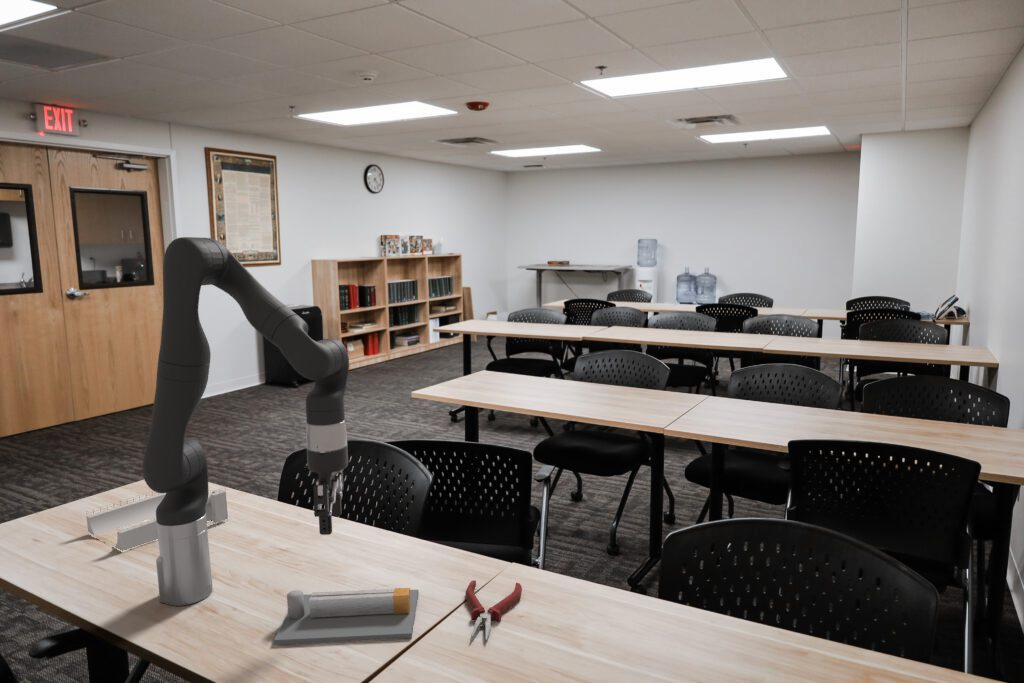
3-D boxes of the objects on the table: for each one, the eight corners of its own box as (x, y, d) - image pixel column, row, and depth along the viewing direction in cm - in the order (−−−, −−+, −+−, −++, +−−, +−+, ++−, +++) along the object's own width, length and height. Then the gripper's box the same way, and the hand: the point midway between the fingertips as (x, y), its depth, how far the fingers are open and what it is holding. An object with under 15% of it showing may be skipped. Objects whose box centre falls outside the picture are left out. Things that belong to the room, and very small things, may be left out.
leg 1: (312, 613, 131) (311, 595, 131) (314, 609, 133) (312, 591, 132) (410, 609, 132) (409, 591, 132) (410, 605, 133) (409, 587, 133)
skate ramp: (183, 505, 193) (180, 471, 191) (228, 523, 179) (225, 487, 178) (88, 536, 173) (84, 499, 171) (131, 559, 159) (126, 519, 158)
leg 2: (310, 618, 130) (308, 600, 129) (311, 614, 131) (310, 596, 130) (409, 613, 131) (408, 595, 130) (409, 609, 132) (409, 591, 132)
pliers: (447, 644, 123) (447, 631, 123) (469, 589, 143) (469, 577, 142) (509, 648, 122) (509, 635, 121) (523, 592, 141) (523, 580, 141)
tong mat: (274, 645, 123) (272, 617, 122) (297, 599, 139) (295, 574, 138) (411, 638, 124) (410, 610, 124) (418, 593, 140) (417, 569, 139)
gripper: (316, 433, 135) (320, 510, 137) (297, 456, 121) (301, 541, 123) (353, 433, 135) (357, 509, 138) (339, 455, 121) (343, 540, 124)
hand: (331, 524), depth 130 cm, fingers open, 8 cm apart
